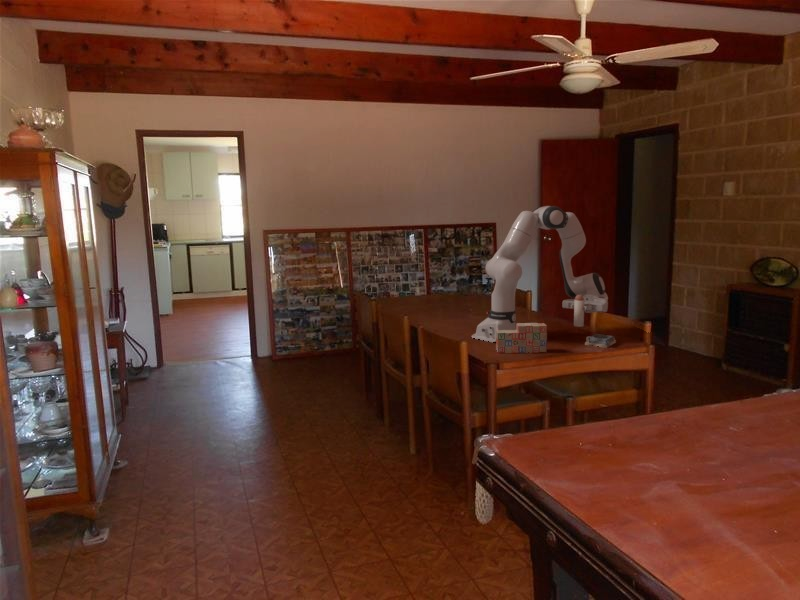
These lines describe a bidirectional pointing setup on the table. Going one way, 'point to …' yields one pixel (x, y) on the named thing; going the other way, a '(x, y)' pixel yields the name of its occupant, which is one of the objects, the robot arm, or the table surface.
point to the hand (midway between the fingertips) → (578, 307)
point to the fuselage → (579, 311)
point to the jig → (600, 340)
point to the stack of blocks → (522, 339)
